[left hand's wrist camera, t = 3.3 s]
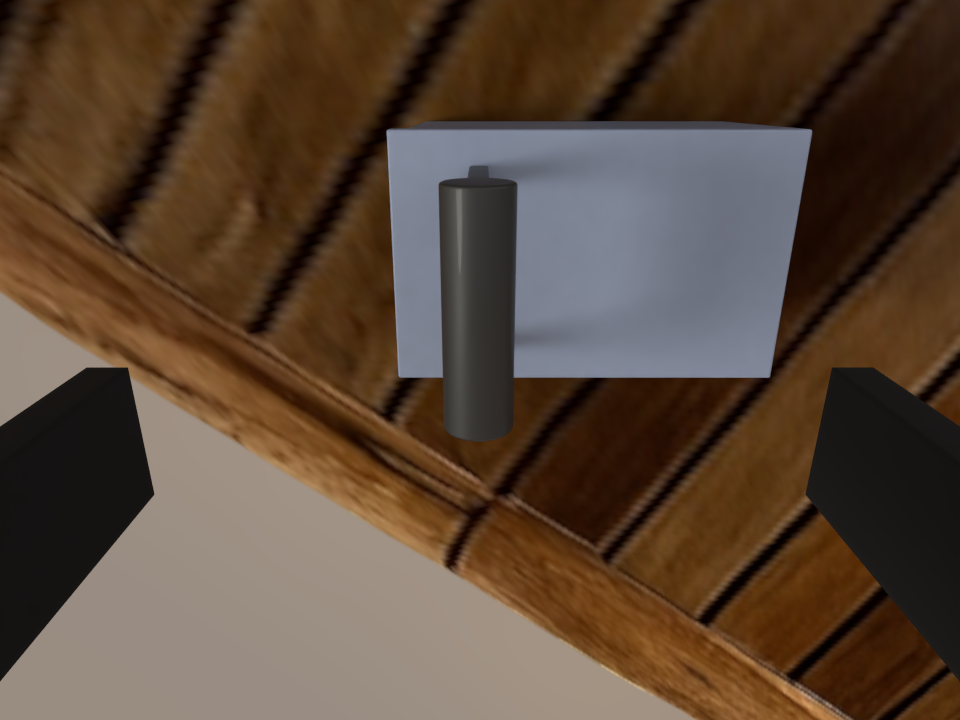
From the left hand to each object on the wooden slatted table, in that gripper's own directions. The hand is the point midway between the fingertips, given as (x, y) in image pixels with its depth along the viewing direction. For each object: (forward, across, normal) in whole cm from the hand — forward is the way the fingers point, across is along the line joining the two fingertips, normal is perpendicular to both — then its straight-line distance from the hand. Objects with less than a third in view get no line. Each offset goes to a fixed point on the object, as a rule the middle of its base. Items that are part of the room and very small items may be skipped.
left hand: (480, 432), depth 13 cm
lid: (+15, +4, 0) cm, 15 cm away
